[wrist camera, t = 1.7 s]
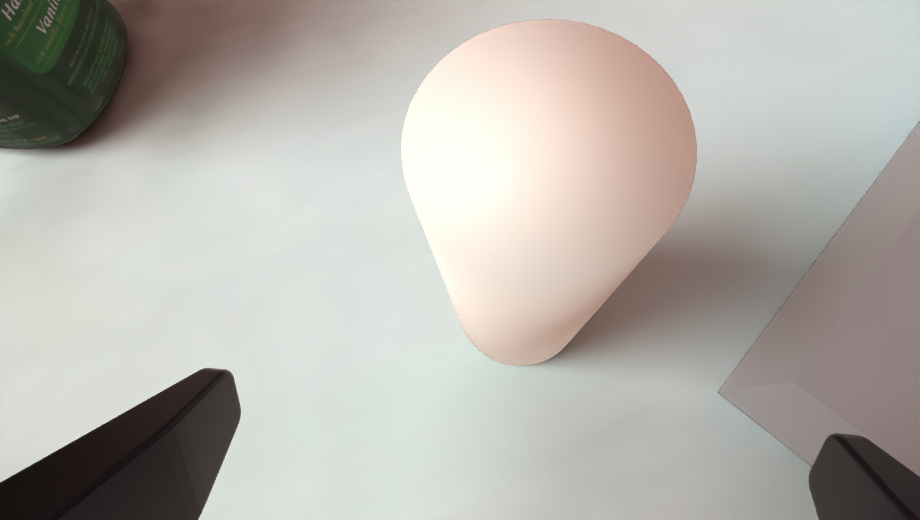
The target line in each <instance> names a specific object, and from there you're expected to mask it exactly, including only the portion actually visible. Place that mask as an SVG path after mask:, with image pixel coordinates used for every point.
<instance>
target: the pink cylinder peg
mask: <svg viewBox="0 0 920 520" xmlns="http://www.w3.org/2000/svg"><path fill="white" fill-rule="evenodd" d="M401 158H402V167H403V174H404V178H405V181H406V185H407V189H408V191H409V194H410V196H411V199H412V201H413V204H414V207H415V209H416V212H417V214H418V217H419V219H420V222H421V224H422V227H423V229H424V232H425V234H426V237H427V239H428V242H429V244H430V247H431V249H432V252H433V254H434V257H435V259H436V262H437V265H438V267H439V270H440V272H441V275H442V277H443V280H444V282H445V285H446V287H447V290H448V292H449V295H450V297H451V300H452V302H453V305H454V307H455V310H456V312H457V315H458V317H459V320H460V323H461V325H462V327H463V330H464V332H465V334H466V336H467V337H468V339H469V340H470V342H471V343H472V344H473V345H474V346H475V347H476V348H477V349H478V350H479V351H480V352H481V353H483V354H484V355H485V356H487V357H489V358H490V359H492V360H494V361H497V362H499V363H502V364H506V365H512V366H529V365H534V364H538V363H541V362H544V361H546V360H548V359H550V358H552V357H553V356H555V355H556V354H557V353H559V352H560V351H561V350H562V349H563V348H564V347H565V346H566V345H567V344H568V343H569V342H570V341H571V339H572V338H573V337H574V336H575V335H576V334H577V333H578V332H579V330H580V329H581V328H582V327H583V326H584V325H585V324H586V322H587V321H588V320H589V319H590V318H591V317H592V316H593V315H594V313H595V312H596V311H597V310H598V309H599V308H600V307H601V306H602V304H603V303H604V302H605V301H606V300H607V299H608V298H609V297H610V295H611V294H612V293H613V292H614V291H615V290H616V289H617V288H618V286H619V285H620V284H621V283H622V282H623V281H624V280H625V278H626V277H627V276H628V275H629V274H630V273H631V272H632V271H633V269H634V268H635V267H636V266H637V265H638V264H639V263H640V262H641V260H642V259H643V258H644V257H645V256H646V255H647V254H648V253H649V251H650V250H651V249H652V248H653V247H654V246H655V245H656V244H657V242H658V241H659V240H660V239H661V238H662V237H663V236H664V234H665V233H666V232H667V231H668V230H669V229H670V227H671V226H672V224H673V223H674V222H675V220H676V219H677V217H678V216H679V214H680V213H681V211H682V209H683V207H684V205H685V203H686V201H687V199H688V196H689V193H690V190H691V187H692V184H693V181H694V175H695V169H696V163H697V143H696V136H695V128H694V125H693V121H692V118H691V114H690V111H689V109H688V106H687V104H686V102H685V100H684V98H683V95H682V94H681V92H680V90H679V89H678V87H677V86H676V84H675V83H674V81H673V79H672V78H671V77H670V76H669V75H668V73H667V72H666V71H665V70H664V69H663V68H662V66H661V65H660V64H658V63H657V62H656V61H655V60H654V59H653V58H652V57H651V56H650V55H649V54H647V53H646V52H645V51H643V50H642V49H640V48H639V47H638V46H636V45H635V44H633V43H632V42H630V41H628V40H626V39H624V38H623V37H621V36H619V35H617V34H614V33H612V32H609V31H607V30H604V29H602V28H599V27H595V26H592V25H588V24H585V23H579V22H573V21H567V20H551V19H545V20H529V21H523V22H516V23H511V24H508V25H504V26H500V27H497V28H494V29H492V30H489V31H487V32H484V33H481V34H479V35H477V36H475V37H474V38H472V39H470V40H468V41H466V42H464V43H463V44H461V45H460V46H459V47H457V48H456V49H454V50H453V51H451V52H450V53H449V54H448V55H447V56H446V57H444V58H443V59H442V60H441V61H440V62H439V63H438V64H437V65H436V66H435V67H434V68H433V70H432V71H431V72H430V73H429V74H428V75H427V76H426V78H425V79H424V81H423V82H422V84H421V85H420V87H419V88H418V90H417V92H416V94H415V96H414V98H413V100H412V102H411V104H410V106H409V110H408V113H407V116H406V119H405V122H404V128H403V133H402V143H401Z"/></svg>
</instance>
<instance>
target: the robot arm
mask: <svg viewBox="0 0 920 520" xmlns="http://www.w3.org/2000/svg"><path fill="white" fill-rule="evenodd" d="M240 415H241V407H240V403H239V398H238V394H237V390H236V385H235V381H234V377H233V375H232V373H231V372H230V371H228V370H224V369H214V368H204V369H201V370H199V371H197V372H196V373H194V374H192V375H190V376H188V377H187V378H185V379H183V380H181V381H180V382H178V383H176V384H174V385H172V386H171V387H169V388H167V389H165V390H164V391H162V392H160V393H158V394H157V395H155V396H153V397H151V398H149V399H148V400H146V401H144V402H142V403H141V404H139V405H137V406H135V407H133V408H132V409H130V410H128V411H126V412H125V413H123V414H121V415H119V416H118V417H116V418H114V419H112V420H110V421H109V422H107V423H105V424H103V425H102V426H100V427H98V428H96V429H94V430H93V431H91V432H89V433H87V434H86V435H84V436H82V437H80V438H79V439H77V440H75V441H73V442H71V443H70V444H68V445H66V446H64V447H63V448H61V449H59V450H57V451H55V452H54V453H52V454H50V455H48V456H47V457H45V458H43V459H41V460H39V461H38V462H36V463H34V464H32V465H31V466H29V467H27V468H25V469H23V470H22V471H20V472H18V473H16V474H15V475H13V476H11V477H9V478H8V479H6V480H4V481H2V482H0V520H198V519H199V517H200V515H201V513H202V511H203V508H204V506H205V504H206V502H207V499H208V497H209V495H210V492H211V490H212V487H213V485H214V482H215V480H216V477H217V475H218V473H219V470H220V468H221V465H222V463H223V460H224V458H225V456H226V453H227V451H228V448H229V446H230V443H231V441H232V438H233V436H234V434H235V431H236V429H237V426H238V424H239V420H240ZM809 487H810V491H811V494H812V498H813V501H814V505H815V508H816V511H817V515H818V518H819V520H920V476H918V475H917V474H916V473H914V472H913V471H911V470H910V469H909V468H907V467H906V466H905V465H903V464H902V463H900V462H899V461H898V460H896V459H895V458H894V457H892V456H891V455H889V454H888V453H887V452H885V451H884V450H882V449H881V448H880V447H878V446H877V445H876V444H874V443H873V442H871V441H870V440H868V439H867V438H865V437H863V436H859V435H850V434H841V433H833V434H831V435H829V436H828V437H827V438H826V439H825V441H824V443H823V445H822V447H821V449H820V451H819V453H818V455H817V458H816V460H815V462H814V464H813V466H812V468H811V470H810V474H809Z"/></svg>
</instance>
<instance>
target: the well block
mask: <svg viewBox="0 0 920 520" xmlns="http://www.w3.org/2000/svg"><path fill="white" fill-rule="evenodd" d="M718 393H719V394H720V395H722V396H723V397H724V398H725V399H727V400H728V401H729V402H731V403H732V404H733V405H734V406H736V407H737V408H738V409H739V410H741V411H742V412H743V413H745V414H746V415H747V416H748V417H750V418H751V419H752V420H754V421H755V422H756V423H757V424H759V425H760V426H761V427H762V428H764V429H765V430H766V431H768V432H769V433H770V434H771V435H773V436H774V437H775V438H777V439H778V440H779V441H780V442H782V443H783V444H784V445H785V446H787V447H788V448H789V449H791V450H792V451H793V452H794V453H796V454H797V455H798V456H799V457H801V458H802V459H803V460H805V461H806V462H807V463H808V464H810V465H811V466H813V464H814V462H815V460H816V458H817V455H818V453H819V451H820V449H821V447H822V445H823V443H824V441H825V439H826V438H827V437H828V436H829V435H831V434H833V433H841V434H850V435H859V436H863V437H865V438H867V439H868V440H870V441H871V442H873V443H874V444H876V445H877V446H878V447H880V448H881V449H882V450H884V451H885V452H887V453H888V454H889V455H891V456H892V457H894V458H895V459H896V460H898V461H899V462H900V463H902V464H903V465H905V466H906V467H907V468H909V469H910V470H911V471H913V472H914V473H916V474H917V475H918V476H920V121H919V123H918V124H917V125H916V127H915V128H914V129H913V131H912V132H911V133H910V135H909V136H908V138H907V139H906V140H905V142H904V143H903V144H902V146H901V147H900V148H899V150H898V151H897V152H896V154H895V155H894V156H893V158H892V159H891V160H890V162H889V163H888V164H887V166H886V167H885V168H884V170H883V171H882V172H881V174H880V175H879V176H878V178H877V179H876V180H875V182H874V183H873V184H872V186H871V187H870V189H869V190H868V191H867V193H866V194H865V195H864V197H863V198H862V199H861V201H860V202H859V203H858V205H857V206H856V207H855V209H854V210H853V211H852V213H851V214H850V215H849V217H848V218H847V219H846V221H845V222H844V223H843V225H842V226H841V227H840V229H839V230H838V231H837V233H836V234H835V235H834V237H833V238H832V239H831V241H830V242H829V244H828V245H827V246H826V248H825V249H824V250H823V252H822V253H821V254H820V256H819V257H818V258H817V260H816V261H815V262H814V264H813V265H812V266H811V268H810V269H809V270H808V272H807V273H806V274H805V276H804V277H803V278H802V280H801V281H800V282H799V284H798V285H797V286H796V288H795V289H794V290H793V292H792V293H791V295H790V296H789V297H788V299H787V300H786V301H785V303H784V304H783V305H782V307H781V308H780V309H779V311H778V312H777V313H776V315H775V316H774V317H773V319H772V320H771V321H770V323H769V324H768V325H767V327H766V328H765V329H764V331H763V332H762V333H761V335H760V336H759V337H758V339H757V340H756V341H755V343H754V344H753V345H752V347H751V348H750V350H749V351H748V352H747V354H746V355H745V356H744V358H743V359H742V360H741V362H740V363H739V364H738V366H737V367H736V368H735V370H734V371H733V372H732V374H731V375H730V376H729V378H728V379H727V380H726V382H725V383H724V384H723V386H722V387H721V388H720V390H719V391H718Z"/></svg>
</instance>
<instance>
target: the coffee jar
mask: <svg viewBox="0 0 920 520" xmlns="http://www.w3.org/2000/svg"><path fill="white" fill-rule="evenodd" d="M126 45H127V33H126V27H125V25H124V22H123V20H122V17H121V16H120V14H119V13H118V11H117V10H116V9H115V8H114V7H113V6H112V5H111V3H110V2H109V1H108V0H0V148H10V149H22V148H23V149H33V148H49V147H54V146H58V145H62V144H65V143H67V142H70V141H72V140H73V139H74V138H76V137H77V136H78V135H79V134H80V133H82V132H83V131H84V130H85V129H86V128H88V127H89V126H90V125H91V124H92V123H93V122H94V121H95V120H96V118H97V117H98V116H99V114H100V113H101V111H102V110H103V109H104V108H105V106H106V105H107V104H108V103H109V101H110V99H111V97H112V95H113V93H114V91H115V89H116V87H117V85H118V83H119V80H120V76H121V73H122V70H123V66H124V63H125V54H126Z"/></svg>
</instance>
